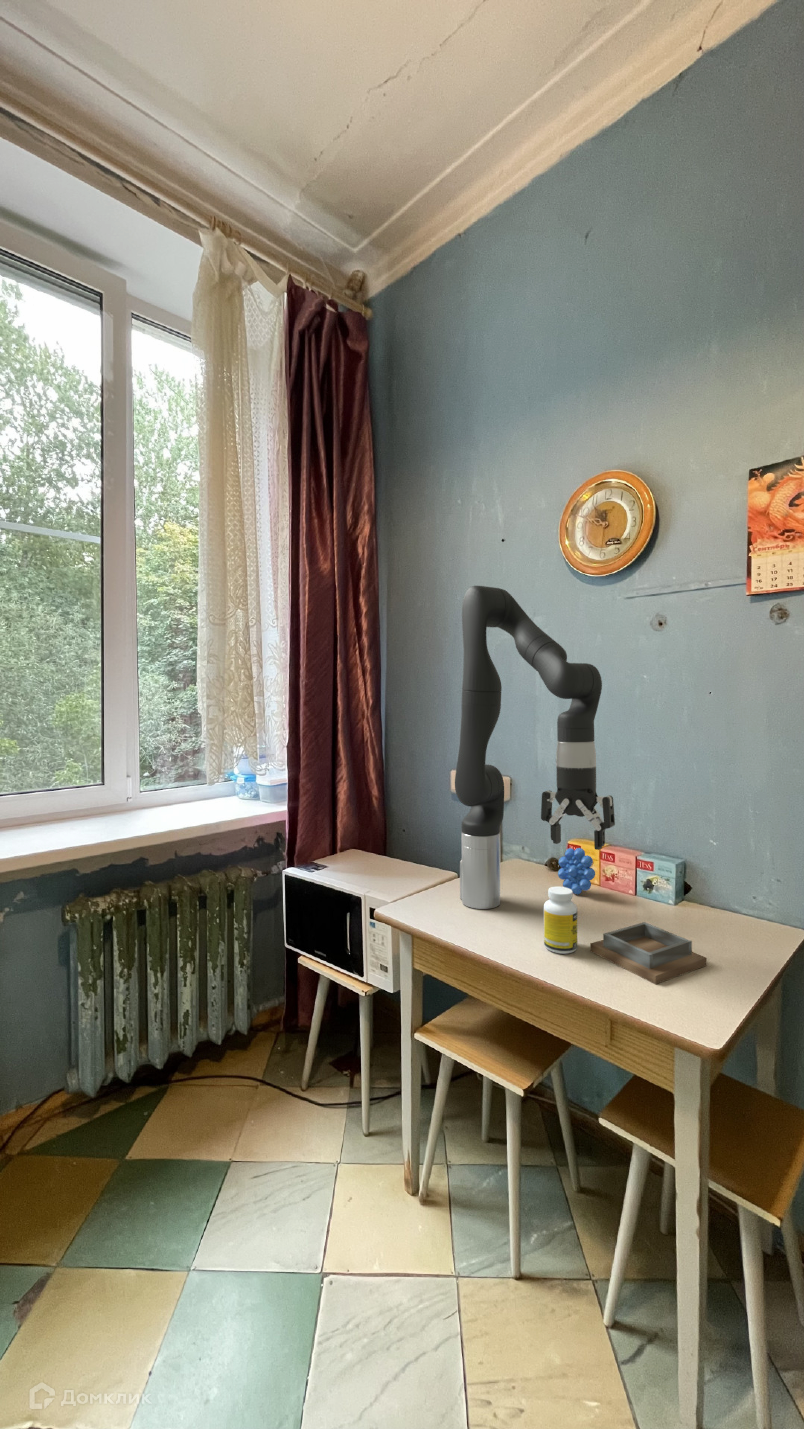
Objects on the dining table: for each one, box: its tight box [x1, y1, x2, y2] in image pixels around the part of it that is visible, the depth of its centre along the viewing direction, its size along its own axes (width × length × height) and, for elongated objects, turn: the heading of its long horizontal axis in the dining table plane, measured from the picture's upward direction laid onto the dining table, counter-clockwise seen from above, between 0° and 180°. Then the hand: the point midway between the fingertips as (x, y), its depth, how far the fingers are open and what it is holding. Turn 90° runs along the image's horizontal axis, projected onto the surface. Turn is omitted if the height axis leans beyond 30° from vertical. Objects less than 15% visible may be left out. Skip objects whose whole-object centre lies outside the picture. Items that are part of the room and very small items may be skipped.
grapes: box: [557, 847, 596, 895], centre depth 148 cm, size 12×7×12 cm, turn 30°
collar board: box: [589, 921, 708, 985], centre depth 112 cm, size 15×14×4 cm
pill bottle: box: [543, 886, 578, 955], centre depth 117 cm, size 6×6×12 cm
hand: (577, 845), depth 116 cm, fingers open, 8 cm apart
